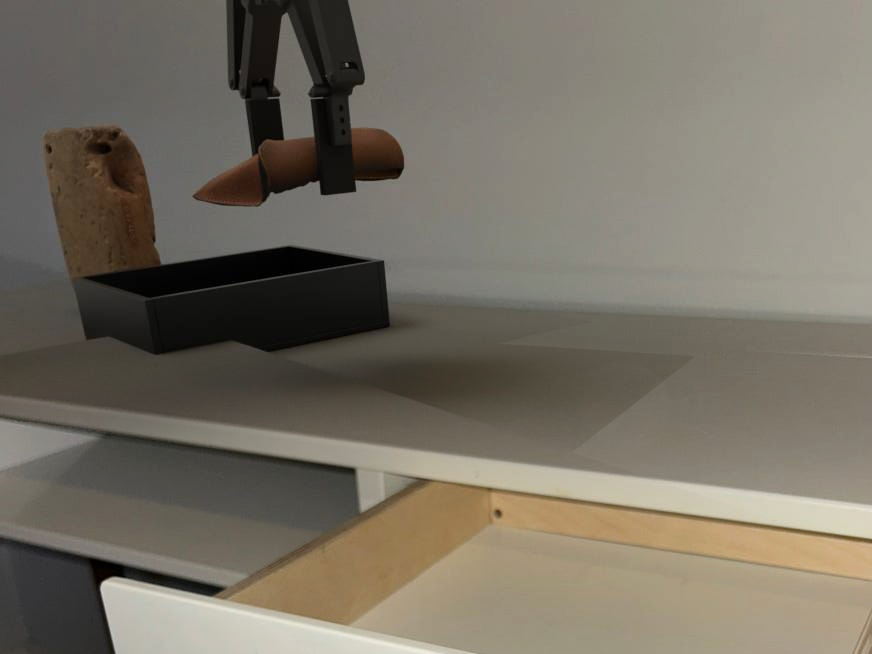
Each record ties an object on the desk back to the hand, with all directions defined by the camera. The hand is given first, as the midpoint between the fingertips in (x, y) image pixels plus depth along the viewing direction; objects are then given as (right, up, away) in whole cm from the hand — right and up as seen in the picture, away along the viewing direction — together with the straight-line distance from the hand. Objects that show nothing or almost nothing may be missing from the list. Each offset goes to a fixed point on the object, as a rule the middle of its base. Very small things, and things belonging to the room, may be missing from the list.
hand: (304, 189), depth 85 cm
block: (-28, +3, +43) cm, 51 cm away
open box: (-11, -4, +27) cm, 30 cm away
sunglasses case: (0, 0, 0) cm, 0 cm away
